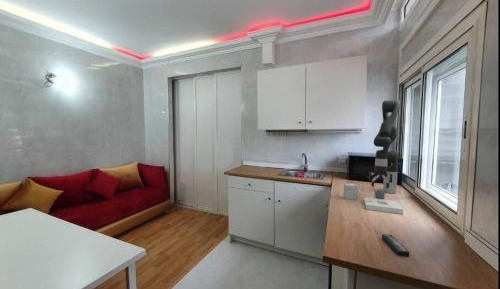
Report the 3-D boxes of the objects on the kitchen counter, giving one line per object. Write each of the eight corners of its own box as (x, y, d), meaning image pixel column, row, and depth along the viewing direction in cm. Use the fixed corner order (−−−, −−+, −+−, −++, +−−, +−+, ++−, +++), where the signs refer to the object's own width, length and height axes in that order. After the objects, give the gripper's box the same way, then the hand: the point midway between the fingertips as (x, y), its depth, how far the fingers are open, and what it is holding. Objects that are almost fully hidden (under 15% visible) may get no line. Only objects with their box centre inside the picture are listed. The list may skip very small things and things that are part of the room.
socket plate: (364, 201, 156) (364, 196, 156) (397, 205, 148) (397, 200, 148) (366, 209, 141) (366, 203, 141) (402, 214, 133) (403, 208, 133)
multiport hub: (398, 256, 91) (398, 251, 90) (381, 238, 105) (381, 234, 105) (409, 257, 90) (409, 252, 90) (391, 239, 104) (391, 234, 104)
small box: (354, 197, 166) (354, 183, 165) (357, 199, 160) (357, 185, 159) (343, 196, 166) (343, 183, 165) (345, 199, 161) (346, 185, 160)
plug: (374, 199, 160) (374, 188, 159) (382, 200, 158) (383, 189, 157) (375, 201, 155) (375, 190, 154) (384, 202, 153) (384, 191, 152)
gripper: (391, 165, 155) (390, 187, 156) (369, 163, 161) (368, 185, 162) (394, 166, 148) (392, 189, 149) (370, 165, 154) (369, 187, 155)
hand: (379, 187), depth 155 cm, fingers open, 8 cm apart
